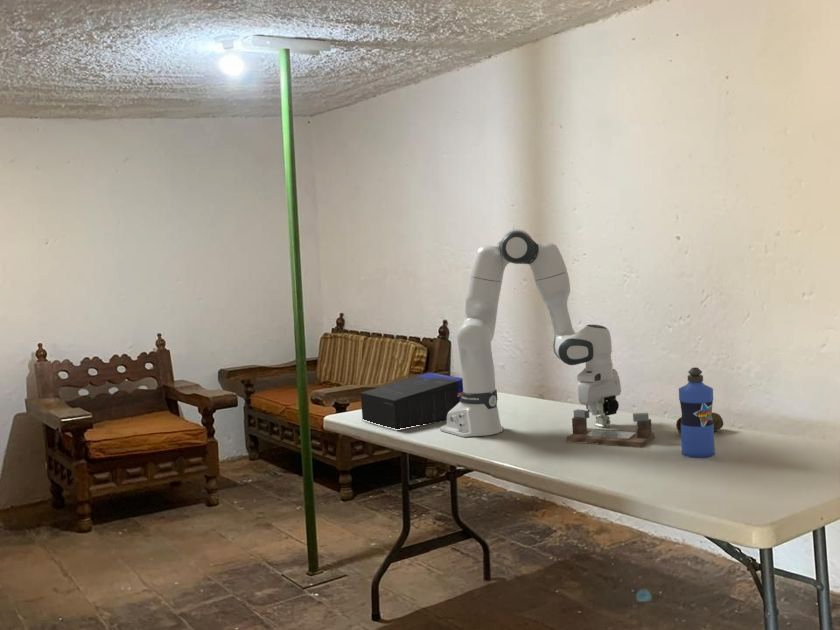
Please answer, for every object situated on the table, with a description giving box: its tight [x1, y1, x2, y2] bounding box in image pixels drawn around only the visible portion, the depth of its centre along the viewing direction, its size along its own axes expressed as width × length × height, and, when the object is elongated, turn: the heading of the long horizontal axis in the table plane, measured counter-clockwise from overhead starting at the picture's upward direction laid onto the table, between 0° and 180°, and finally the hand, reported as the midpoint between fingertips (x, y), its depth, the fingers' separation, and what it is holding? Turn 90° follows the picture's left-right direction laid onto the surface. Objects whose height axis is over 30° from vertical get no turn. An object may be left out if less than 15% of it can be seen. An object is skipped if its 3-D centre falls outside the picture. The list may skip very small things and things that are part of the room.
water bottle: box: [678, 367, 716, 459], centre depth 236 cm, size 9×9×25 cm
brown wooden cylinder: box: [675, 411, 724, 435], centre depth 259 cm, size 15×7×7 cm, turn 118°
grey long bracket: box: [573, 408, 649, 439], centre depth 259 cm, size 24×8×7 cm, turn 59°
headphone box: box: [360, 372, 463, 429], centre depth 310 cm, size 25×35×14 cm
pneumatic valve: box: [585, 394, 620, 428], centre depth 276 cm, size 6×12×12 cm, turn 30°
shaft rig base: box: [566, 416, 656, 448], centre depth 259 cm, size 24×13×6 cm, turn 59°
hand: (601, 413), depth 276 cm, fingers closed on pneumatic valve, 5 cm apart
